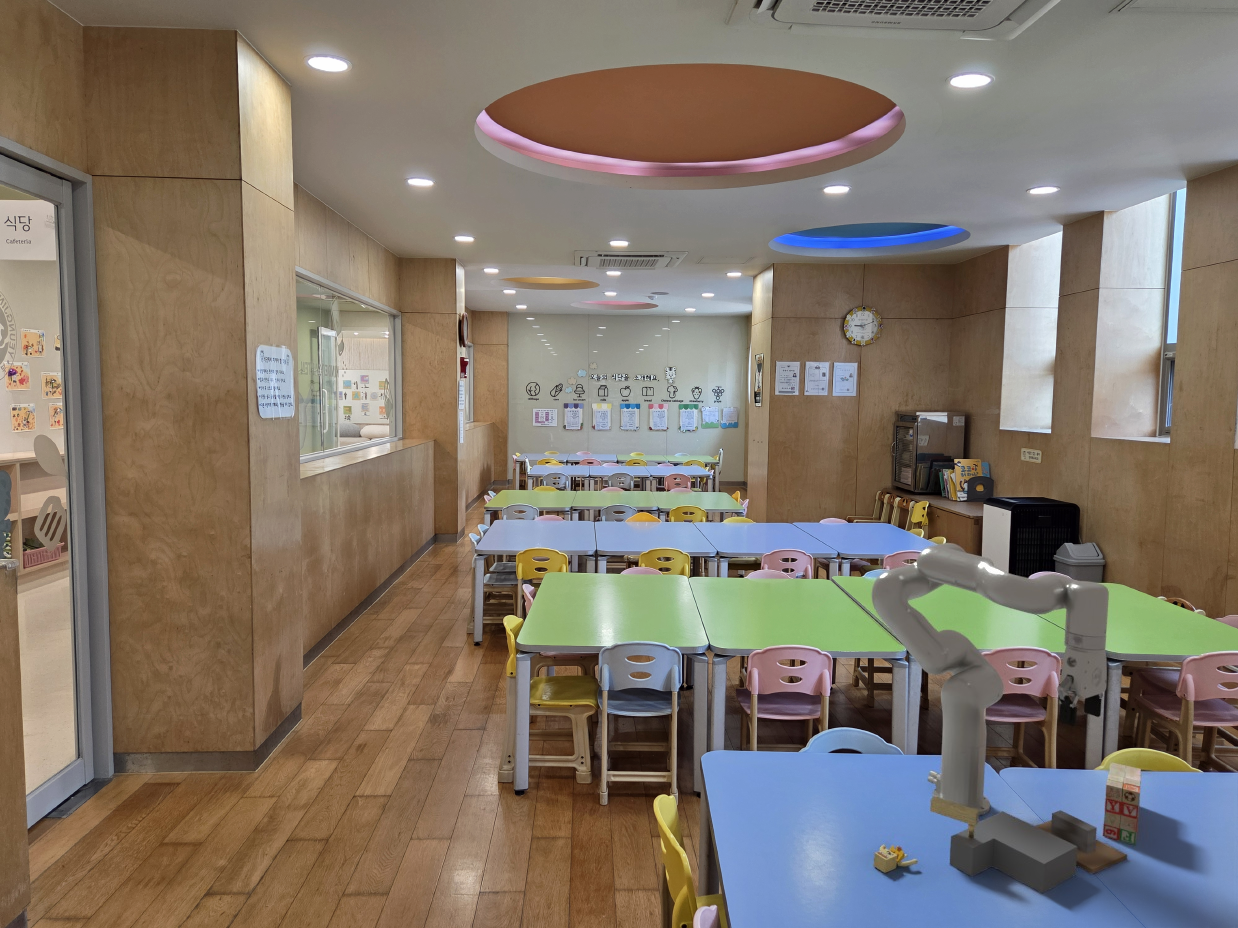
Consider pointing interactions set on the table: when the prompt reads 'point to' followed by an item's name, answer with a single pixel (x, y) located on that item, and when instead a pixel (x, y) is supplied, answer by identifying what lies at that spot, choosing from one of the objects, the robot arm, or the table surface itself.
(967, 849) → the grey l-shaped block
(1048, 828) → the walnut lid
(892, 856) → the character toy
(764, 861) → the table surface
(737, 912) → the table surface
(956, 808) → the brass bar
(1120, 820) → the stack of blocks
